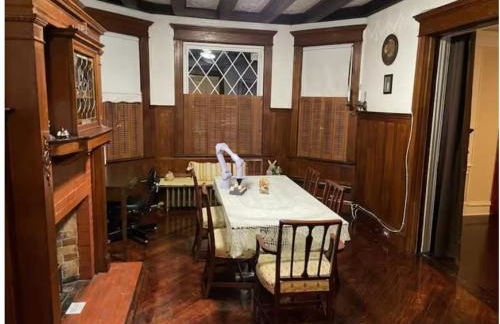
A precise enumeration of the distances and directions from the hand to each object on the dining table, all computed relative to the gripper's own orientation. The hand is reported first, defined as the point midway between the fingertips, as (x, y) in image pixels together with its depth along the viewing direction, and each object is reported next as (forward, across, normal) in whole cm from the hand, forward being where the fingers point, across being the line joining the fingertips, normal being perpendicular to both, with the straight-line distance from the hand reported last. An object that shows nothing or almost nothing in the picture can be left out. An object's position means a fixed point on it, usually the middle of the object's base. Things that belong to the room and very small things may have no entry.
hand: (239, 186), depth 350 cm
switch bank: (+4, +1, -7) cm, 8 cm away
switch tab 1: (+1, -2, -14) cm, 14 cm away
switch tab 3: (+1, +3, -7) cm, 7 cm away
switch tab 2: (+1, -3, 0) cm, 3 cm away
